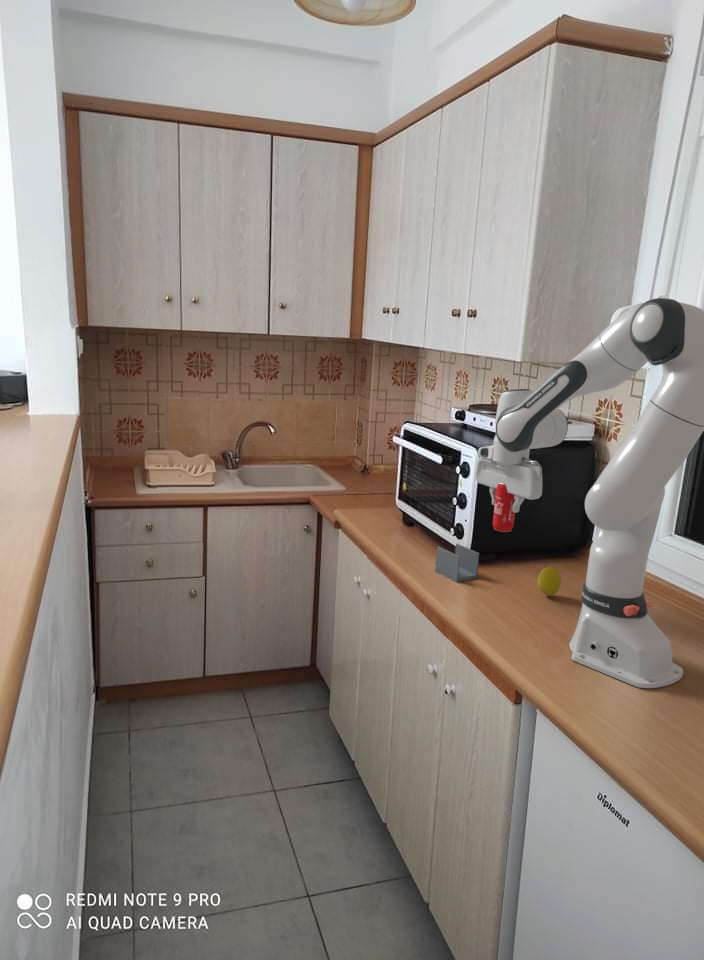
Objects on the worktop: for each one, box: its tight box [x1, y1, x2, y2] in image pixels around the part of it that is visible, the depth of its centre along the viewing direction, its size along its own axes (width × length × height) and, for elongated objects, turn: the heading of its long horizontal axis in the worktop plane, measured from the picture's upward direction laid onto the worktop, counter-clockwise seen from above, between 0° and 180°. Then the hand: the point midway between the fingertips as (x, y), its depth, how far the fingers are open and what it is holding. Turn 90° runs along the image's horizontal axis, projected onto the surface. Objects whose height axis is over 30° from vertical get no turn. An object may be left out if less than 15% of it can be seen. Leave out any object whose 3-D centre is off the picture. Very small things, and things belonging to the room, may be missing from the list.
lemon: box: [537, 565, 562, 597], centre depth 179 cm, size 6×6×8 cm
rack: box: [434, 543, 480, 583], centre depth 191 cm, size 9×7×7 cm
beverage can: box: [492, 483, 516, 533], centre depth 179 cm, size 5×5×12 cm
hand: (505, 508), depth 179 cm, fingers closed on beverage can, 5 cm apart
